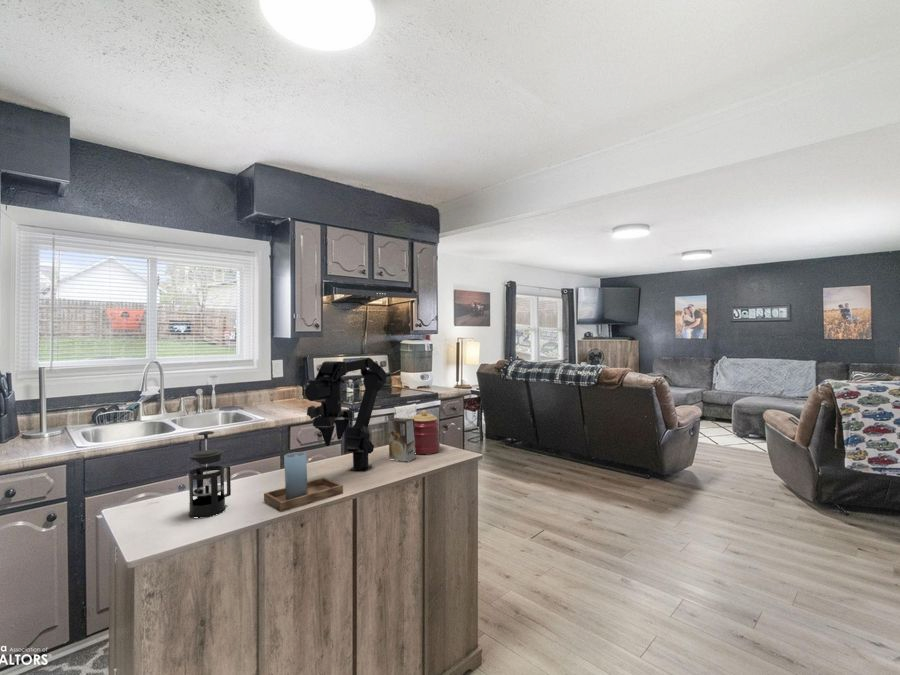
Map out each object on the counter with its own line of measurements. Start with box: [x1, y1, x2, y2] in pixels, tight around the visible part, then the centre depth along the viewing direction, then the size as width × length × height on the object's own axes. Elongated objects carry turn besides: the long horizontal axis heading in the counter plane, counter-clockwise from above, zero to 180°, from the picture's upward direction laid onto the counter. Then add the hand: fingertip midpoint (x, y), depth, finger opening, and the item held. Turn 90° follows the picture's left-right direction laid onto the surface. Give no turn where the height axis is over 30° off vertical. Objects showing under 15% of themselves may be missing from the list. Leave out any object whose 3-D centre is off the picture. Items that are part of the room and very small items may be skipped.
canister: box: [410, 409, 441, 455], centre depth 191 cm, size 13×13×18 cm
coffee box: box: [387, 417, 416, 462], centre depth 179 cm, size 9×6×16 cm
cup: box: [283, 451, 308, 500], centre depth 137 cm, size 6×6×13 cm
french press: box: [187, 430, 232, 519], centre depth 129 cm, size 12×9×23 cm
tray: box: [263, 477, 344, 513], centre depth 139 cm, size 20×12×2 cm, turn 135°
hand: (333, 442), depth 155 cm, fingers open, 9 cm apart
